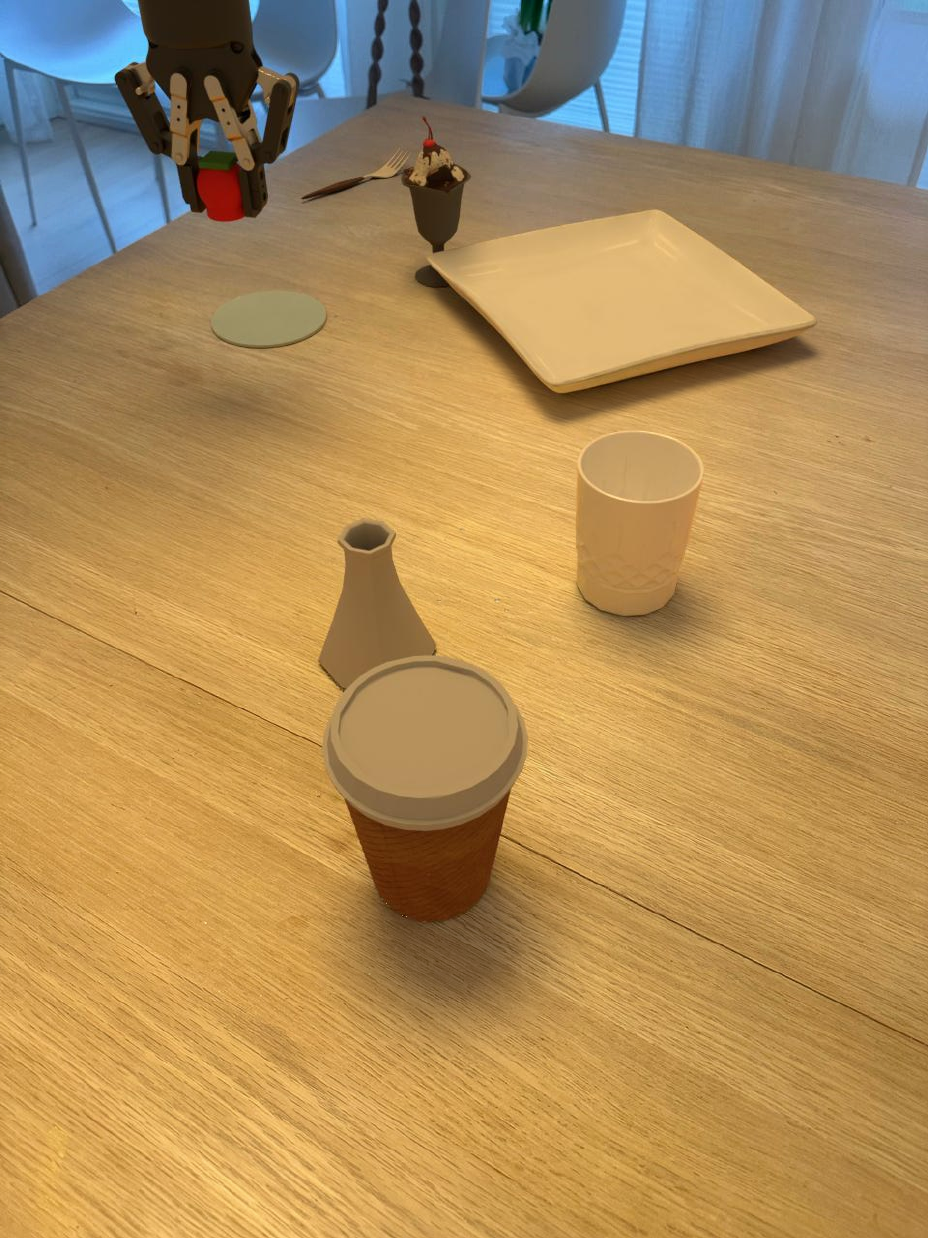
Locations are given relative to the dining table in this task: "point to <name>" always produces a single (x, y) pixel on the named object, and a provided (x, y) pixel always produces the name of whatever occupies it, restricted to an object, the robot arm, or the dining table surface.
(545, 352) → the square plate
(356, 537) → the flask
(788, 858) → the dining table surface
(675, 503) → the white cup
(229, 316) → the saucer
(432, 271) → the sundae
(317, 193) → the fork
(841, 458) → the dining table surface
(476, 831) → the disposable coffee cup
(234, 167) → the strawberry
